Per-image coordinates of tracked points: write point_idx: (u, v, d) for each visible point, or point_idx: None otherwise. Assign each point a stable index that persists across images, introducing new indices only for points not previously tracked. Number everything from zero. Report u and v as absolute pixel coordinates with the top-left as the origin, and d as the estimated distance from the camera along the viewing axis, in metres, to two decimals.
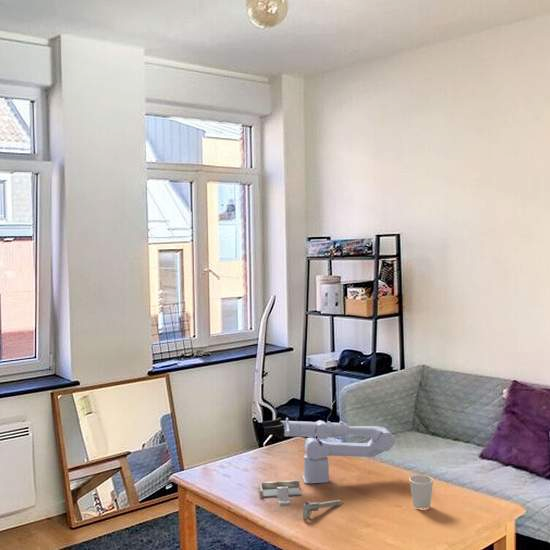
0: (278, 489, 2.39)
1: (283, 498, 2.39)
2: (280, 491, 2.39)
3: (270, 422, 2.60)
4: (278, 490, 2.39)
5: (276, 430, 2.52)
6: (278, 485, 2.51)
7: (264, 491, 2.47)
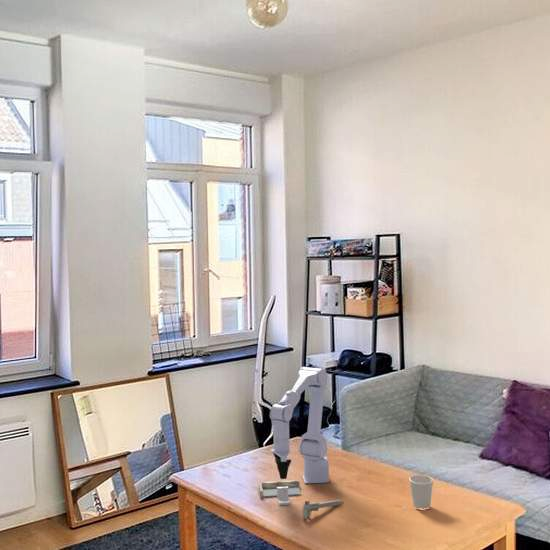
0: (278, 489, 2.39)
1: (283, 498, 2.39)
2: (280, 491, 2.39)
3: None
4: (278, 490, 2.39)
5: (282, 466, 2.35)
6: (278, 485, 2.51)
7: (264, 491, 2.47)
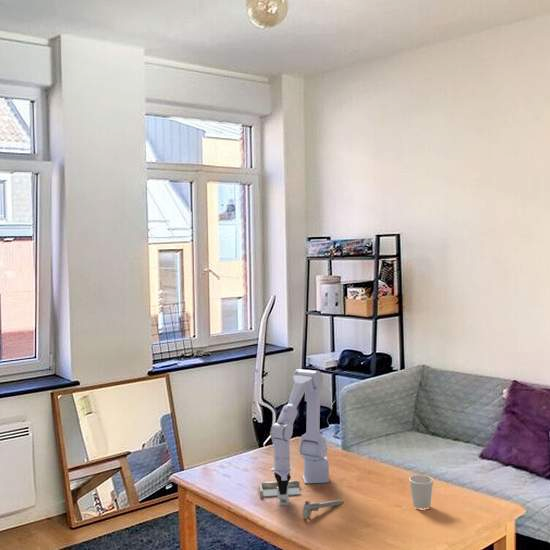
0: (278, 489, 2.39)
1: (283, 498, 2.39)
2: None
3: None
4: (278, 490, 2.39)
5: (282, 482, 2.38)
6: None
7: (264, 491, 2.47)
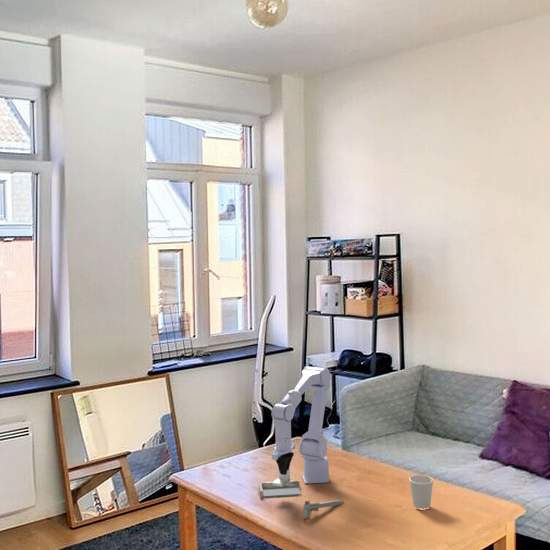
0: None
1: (282, 479, 2.41)
2: None
3: None
4: None
5: (281, 462, 2.41)
6: None
7: (264, 491, 2.47)
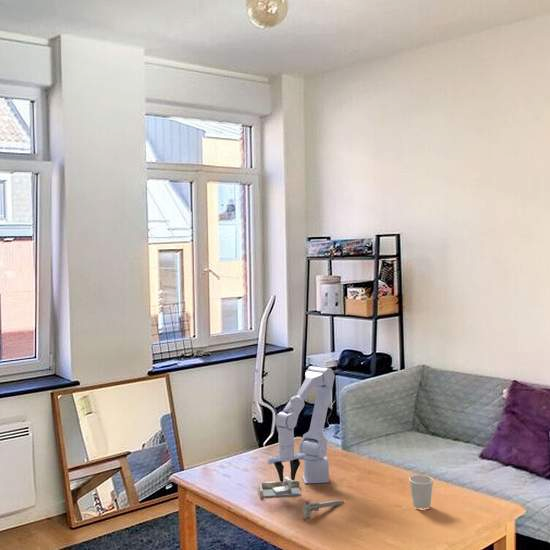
0: (284, 478, 2.48)
1: (283, 488, 2.47)
2: (285, 481, 2.48)
3: (291, 471, 2.48)
4: (284, 479, 2.48)
5: None
6: (278, 485, 2.51)
7: (264, 491, 2.47)
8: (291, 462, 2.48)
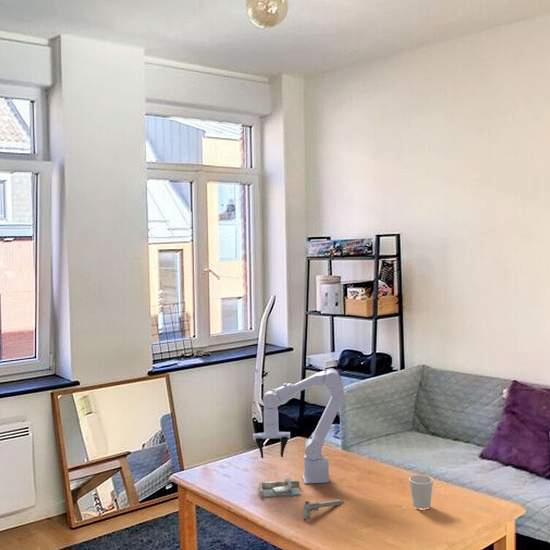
0: (284, 478, 2.48)
1: (283, 488, 2.47)
2: (285, 481, 2.48)
3: None
4: (284, 479, 2.48)
5: None
6: (278, 485, 2.51)
7: (264, 491, 2.47)
8: (280, 439, 2.60)
